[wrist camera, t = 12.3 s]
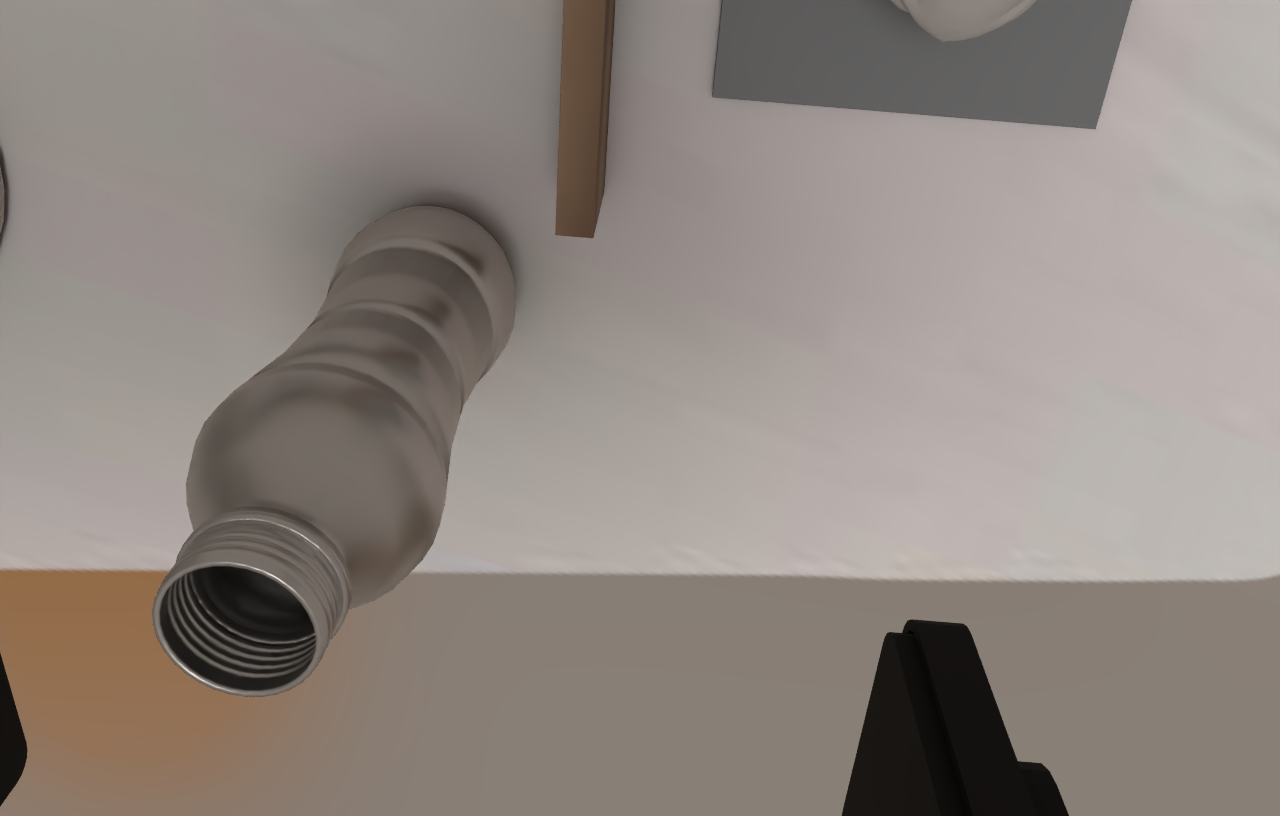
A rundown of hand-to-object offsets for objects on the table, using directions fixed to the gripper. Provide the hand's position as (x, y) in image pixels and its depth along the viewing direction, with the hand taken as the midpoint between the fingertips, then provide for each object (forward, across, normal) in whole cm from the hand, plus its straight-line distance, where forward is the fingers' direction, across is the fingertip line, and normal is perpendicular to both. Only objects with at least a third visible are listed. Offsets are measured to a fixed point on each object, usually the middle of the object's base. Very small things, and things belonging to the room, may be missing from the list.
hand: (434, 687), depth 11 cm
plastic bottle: (+28, +6, +7) cm, 30 cm away
